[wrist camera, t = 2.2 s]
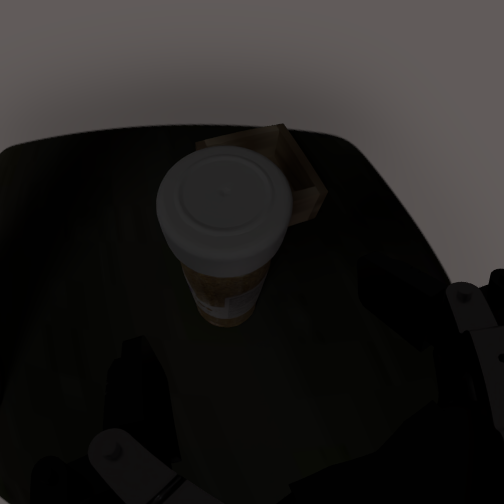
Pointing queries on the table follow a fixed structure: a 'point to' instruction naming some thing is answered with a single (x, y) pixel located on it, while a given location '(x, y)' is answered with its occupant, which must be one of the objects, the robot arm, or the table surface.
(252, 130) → the oak socket block
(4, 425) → the table surface
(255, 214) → the sprinkles bottle
